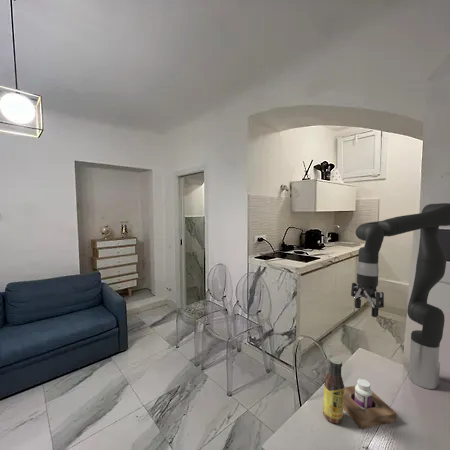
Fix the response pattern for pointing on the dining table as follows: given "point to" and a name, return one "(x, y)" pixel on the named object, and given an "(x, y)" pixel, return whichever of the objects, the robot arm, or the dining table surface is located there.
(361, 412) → the mount
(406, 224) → the robot arm
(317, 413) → the dining table surface
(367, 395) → the pill bottle
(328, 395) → the sauce bottle
